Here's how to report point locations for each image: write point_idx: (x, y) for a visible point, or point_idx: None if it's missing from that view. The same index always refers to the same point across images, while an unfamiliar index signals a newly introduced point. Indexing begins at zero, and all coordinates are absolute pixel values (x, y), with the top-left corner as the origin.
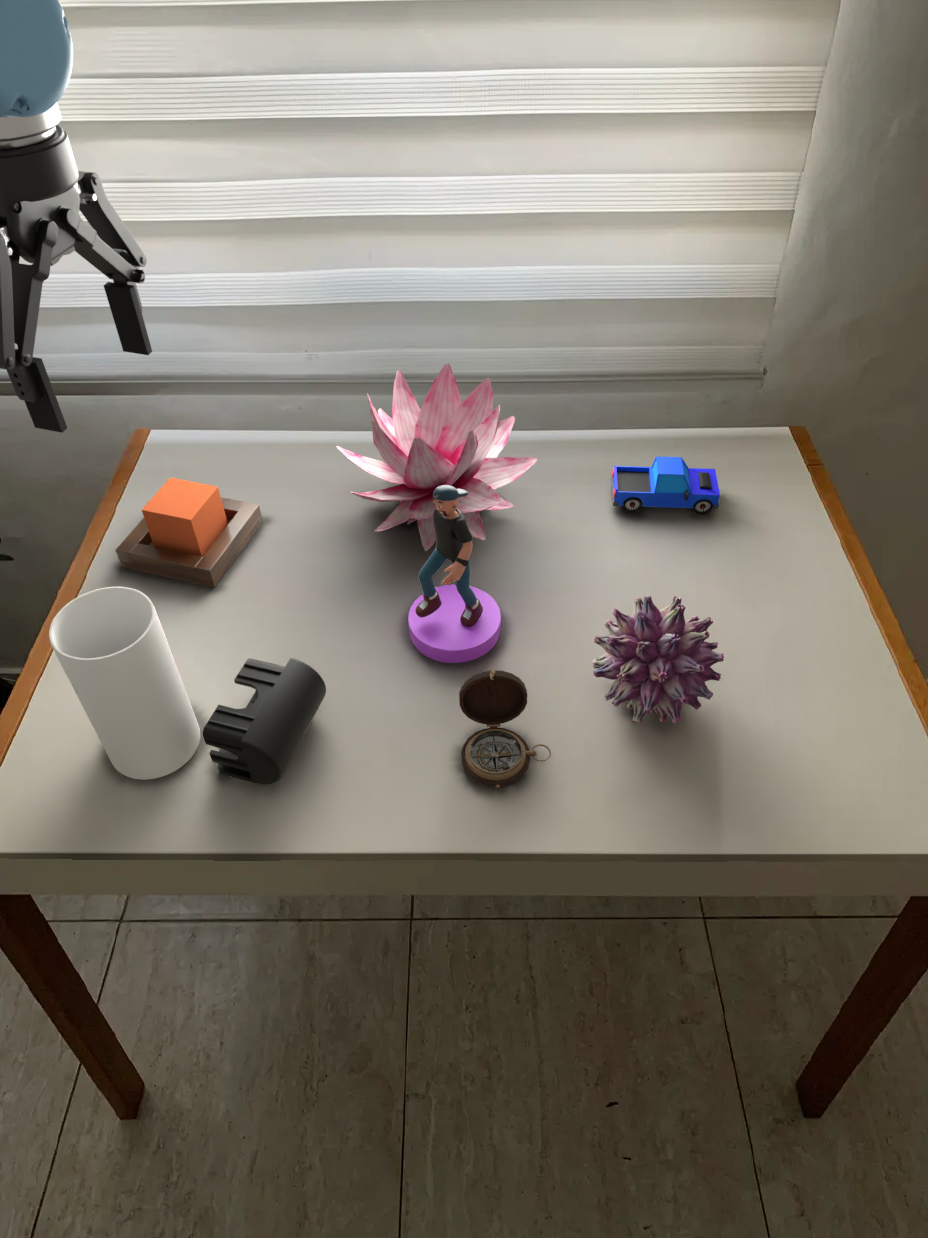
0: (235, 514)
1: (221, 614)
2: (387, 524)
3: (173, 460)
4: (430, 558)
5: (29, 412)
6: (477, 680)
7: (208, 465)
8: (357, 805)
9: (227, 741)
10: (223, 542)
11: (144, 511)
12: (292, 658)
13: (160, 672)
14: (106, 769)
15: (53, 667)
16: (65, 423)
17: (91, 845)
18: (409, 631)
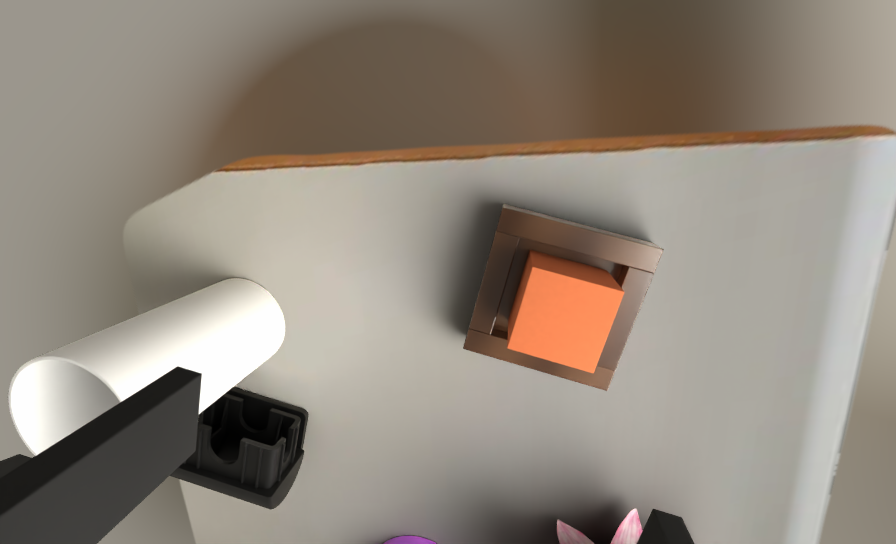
0: None
1: (421, 351)
2: (571, 532)
3: (787, 207)
4: None
5: (131, 396)
6: None
7: (761, 271)
8: (217, 492)
9: None
10: (521, 355)
11: (530, 271)
12: (268, 498)
13: None
14: (207, 282)
15: (321, 176)
16: (184, 459)
17: (136, 293)
18: (403, 539)
